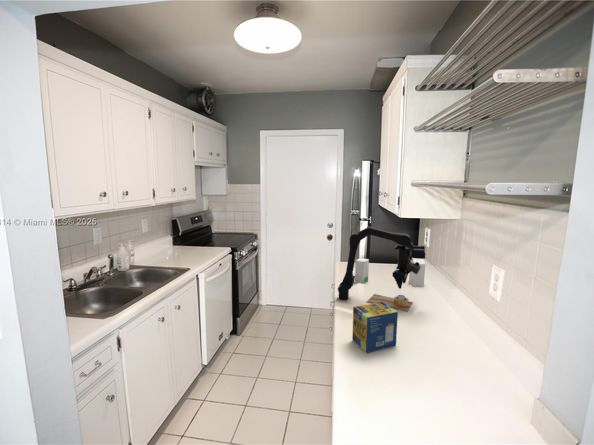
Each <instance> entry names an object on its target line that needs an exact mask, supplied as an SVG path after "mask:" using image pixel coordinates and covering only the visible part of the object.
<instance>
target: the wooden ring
mask: <svg viewBox="0 0 594 445" xmlns="http://www.w3.org/2000/svg"><path fill="white" fill-rule="evenodd" d="M393 298H394V305H395V306H397V307H400V308H406V307H408V301H409V302H410V300H409V298H408V297H406V296H405V301H401V300H398V295H395V296H394V297H393Z"/></svg>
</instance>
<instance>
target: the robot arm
mask: <svg viewBox="0 0 594 445" xmlns="http://www.w3.org/2000/svg"><path fill="white" fill-rule="evenodd" d="M368 236H374V237H378V238H381V239H385V240H388V241H392V242H394V243H395V244H396V245H395V246H394V249H395V250H397V259H396V262H397V266H396V268H395V270H394V271H392V274H391V275H392V277H393V278H394V280H395V283H396V285H397V288H398V289H400V290H401V289H402V286H403V284H406V283H407V278H408V276H409V274H410V272H411V271H412V272H414V273H415V274H418V272H419V270H420V268H421V266H420V265H419V263H418V262H416V263H411V259H410V257H411V258H412V257H413V258H416V259H424V260H425V258H426V246H425V245H414V244H413V242H412V241H411V238H410V237H411V236H410V235H409V234H408V233H406V232H392V231H388V230H384V229H379V228H377V227H376V228H375V227H372V226H367V227H366V228H364V229H362V230H359V231H357V232H352V234H351V235H350V237H349V252H348V259H347V264H346V269H345V273H344V277H343V279H342V282H340V283H339V285H338V286H337V291H338V297H337V299H336V301H337V300H340V301H347V300H349V295H350V294H349V293H350V290H351V288H352V287H354V285H355V275H354V269H355V260H356V258H357V252H358V248H359V246H360V243H361V241H362V240H364V239H365V238H367V237H368Z"/></svg>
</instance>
